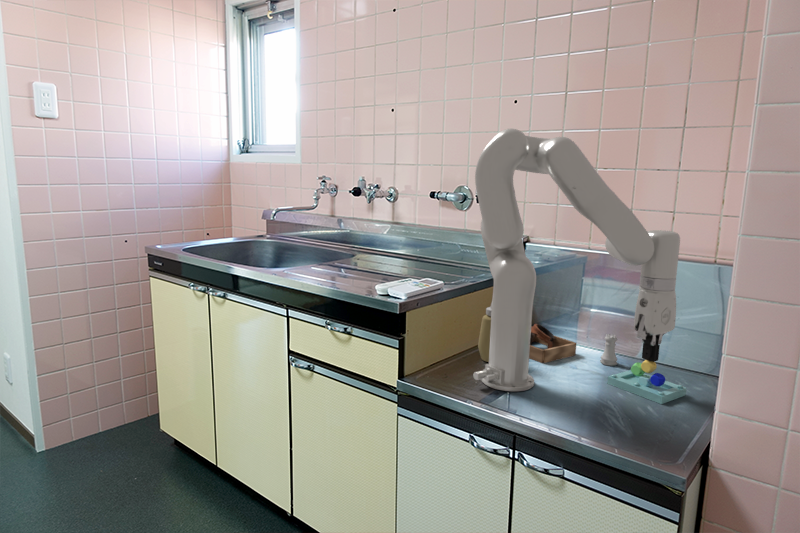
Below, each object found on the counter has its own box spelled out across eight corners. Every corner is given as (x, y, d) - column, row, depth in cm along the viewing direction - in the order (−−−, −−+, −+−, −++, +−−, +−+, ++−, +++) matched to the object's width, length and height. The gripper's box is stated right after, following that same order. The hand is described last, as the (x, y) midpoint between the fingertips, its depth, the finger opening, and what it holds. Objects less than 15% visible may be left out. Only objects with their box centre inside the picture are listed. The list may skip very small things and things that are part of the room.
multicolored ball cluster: (665, 390, 126) (668, 364, 125) (658, 392, 124) (662, 365, 123) (634, 379, 132) (637, 354, 131) (628, 380, 131) (631, 355, 130)
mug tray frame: (542, 363, 145) (543, 351, 144) (500, 347, 158) (501, 335, 158) (576, 355, 153) (577, 343, 152) (534, 340, 166) (534, 329, 165)
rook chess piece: (618, 367, 144) (621, 338, 142) (601, 365, 145) (603, 336, 143) (615, 361, 148) (618, 333, 147) (598, 360, 149) (601, 332, 148)
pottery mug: (524, 342, 165) (540, 321, 162) (547, 363, 159) (563, 342, 157) (504, 340, 156) (521, 318, 154) (527, 362, 150) (545, 340, 148)
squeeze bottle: (507, 366, 142) (511, 299, 139) (476, 363, 144) (480, 298, 141) (506, 356, 150) (510, 293, 147) (477, 354, 151) (480, 291, 148)
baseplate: (661, 404, 120) (662, 394, 120) (607, 383, 132) (608, 374, 131) (685, 395, 126) (686, 386, 125) (631, 376, 137) (632, 367, 137)
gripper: (653, 290, 117) (646, 370, 120) (690, 283, 125) (682, 359, 129) (623, 284, 124) (616, 360, 127) (660, 278, 132) (653, 350, 135)
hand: (649, 359), depth 128 cm, fingers closed
